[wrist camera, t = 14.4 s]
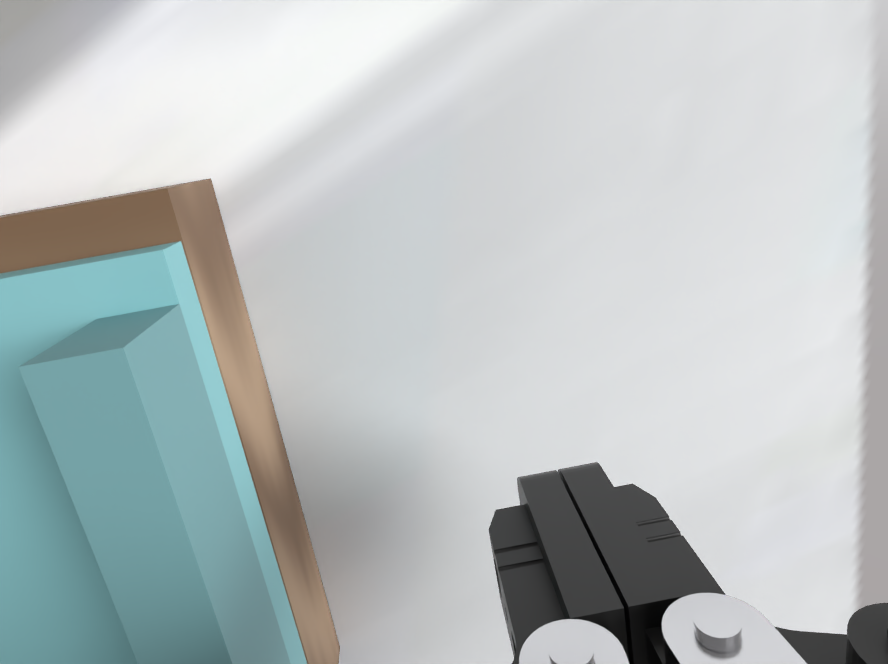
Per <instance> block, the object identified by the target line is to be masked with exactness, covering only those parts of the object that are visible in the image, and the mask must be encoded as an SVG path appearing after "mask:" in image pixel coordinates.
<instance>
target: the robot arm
mask: <svg viewBox="0 0 888 664" xmlns="http://www.w3.org/2000/svg"><path fill="white" fill-rule="evenodd" d="M517 484H518V492H519V498H520V505H519V506H514V507H509V508H504V509H498V510H496V511H495V514H494V517H493V519H492V522H491V525H490V528H489V534H490V540H491V546H492V552H493V557H494V563H495V569H496V575H497V581H498V587H499V593H500V598H501V603H502V607H503V611H504V616H505V620H506V624H507V629H508V633H509V637H510V641H511V646H512V650H513V655H514V661H513V663H512V664H888V603H880V604H873V605H869V606H866V607H864V608H861V609H859V610H858V611H857V612H855V613H854V614H853V615H852V617H851V618H850V620H849V622H848V627H847V635H844V634H830V633H816V632H802V631H793V630H787V629H782V628H778V627H775V626H773V625H772V624H771V623H770V621H769V620H768V619H767V618H766V617H765V616H764V615H763V614H762V613H761V612H760V611H758V610H757V609H756V608H754V607H753V606H751V605H749V604H748V603H746V602H744V601H742V600H739V599H737V598H734V597H731V596H728V595H725V593H724V592H723V591H722V589H721V588H720V586H719V585H718V584H717V582H716V581H715V580H714V578H713V577H712V575H711V574H710V573H709V571H708V570H707V568H706V567H705V566H704V564H703V563H702V562H701V560H700V559H699V557H698V556H697V555H696V553H695V552H694V550H693V549H692V548H691V546H690V545H689V544H688V542H687V541H686V539H685V538H684V537H683V536H681V534H680V531H679V530H678V528H677V527H676V525H675V524H674V523H673V521H672V520H670V519H669V516H668V514H667V513H666V512H665V510H664V509H663V507H662V506H661V505H660V503H659V502H658V501H657V499H656V498H655V497H654V496H652V495H650V494H649V493H647V492H645V491H644V490H642V489H640V488H639V487H637V486H636V485H634V484H629V485H623V486H618V487H613V485H612V483H611V482H610V480H609V479H608V477H607V475H606V474H605V472H604V471H603V469H602V467H601V466H600V465H599V463H597V462H596V463H590V464H585V465H580V466H574V467H569V468H564V469H559V470H558V472H557V471H556V470H554V471H549V472H544V473H538V474H533V475H528V476H522V477H518V478H517Z"/></svg>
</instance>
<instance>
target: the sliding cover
mask: <svg viewBox="0 0 888 664" xmlns="http://www.w3.org/2000/svg"><path fill="white" fill-rule="evenodd" d="M0 664H307V661H306V658H305V655H304V651H303V648H302V645H301V641H300V638H299V635H298V631H297V628H296V625H295V621H294V618H293V615H292V611H291V608H290V605H289V601H288V598H287V594H286V591H285V588H284V584H283V581H282V578H281V574H280V571H279V568H278V564H277V561H276V558H275V554H274V551H273V548H272V544H271V541H270V538H269V534H268V531H267V528H266V524H265V521H264V517H263V514H262V511H261V507H260V504H259V501H258V497H257V494H256V491H255V487H254V484H253V481H252V477H251V474H250V471H249V467H248V464H247V461H246V457H245V454H244V450H243V447H242V444H241V440H240V437H239V434H238V430H237V427H236V424H235V420H234V417H233V414H232V410H231V407H230V404H229V400H228V397H227V394H226V390H225V387H224V384H223V380H222V377H221V373H220V370H219V367H218V363H217V360H216V357H215V353H214V350H213V347H212V343H211V340H210V337H209V333H208V330H207V327H206V323H205V320H204V317H203V313H202V310H201V306H200V303H199V300H198V296H197V293H196V290H195V286H194V283H193V280H192V276H191V273H190V270H189V266H188V263H187V260H186V256H185V253H184V250H183V246H182V243H181V241H179V242H173V243H168V244H162V245H156V246H151V247H145V248H140V249H134V250H128V251H123V252H117V253H112V254H106V255H101V256H95V257H89V258H84V259H78V260H73V261H67V262H61V263H56V264H50V265H45V266H39V267H33V268H28V269H22V270H17V271H11V272H6V273H0Z"/></svg>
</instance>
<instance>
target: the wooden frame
mask: <svg viewBox="0 0 888 664" xmlns="http://www.w3.org/2000/svg"><path fill="white" fill-rule="evenodd" d="M179 241H181V243H182V246H183V250H184V253H185V256H186V260H187V263H188V266H189V270H190V273H191V276H192V280H193V283H194V286H195V290H196V293H197V296H198V300H199V303H200V306H201V310H202V313H203V317H204V320H205V323H206V327H207V330H208V333H209V337H210V340H211V343H212V347H213V350H214V353H215V357H216V360H217V363H218V367H219V370H220V373H221V377H222V380H223V384H224V387H225V390H226V394H227V397H228V400H229V404H230V407H231V410H232V414H233V417H234V420H235V424H236V427H237V430H238V434H239V437H240V440H241V444H242V447H243V450H244V454H245V457H246V461H247V464H248V467H249V471H250V474H251V477H252V481H253V484H254V487H255V491H256V494H257V497H258V501H259V504H260V507H261V511H262V514H263V517H264V521H265V524H266V528H267V531H268V534H269V538H270V541H271V544H272V548H273V551H274V554H275V558H276V561H277V564H278V568H279V571H280V574H281V578H282V581H283V584H284V588H285V591H286V594H287V598H288V601H289V605H290V608H291V611H292V615H293V618H294V621H295V625H296V628H297V631H298V635H299V638H300V641H301V645H302V648H303V651H304V655H305V658H306V661H307V664H338V662H339V652H340V646H339V642H338V639H337V635H336V631H335V628H334V624H333V621H332V617H331V613H330V610H329V606H328V602H327V599H326V595H325V591H324V588H323V584H322V581H321V577H320V573H319V570H318V566H317V562H316V559H315V555H314V552H313V548H312V544H311V541H310V537H309V533H308V530H307V526H306V522H305V519H304V515H303V512H302V508H301V504H300V501H299V497H298V493H297V490H296V486H295V483H294V479H293V475H292V472H291V468H290V464H289V461H288V457H287V453H286V450H285V446H284V443H283V439H282V435H281V432H280V428H279V424H278V421H277V417H276V413H275V410H274V406H273V403H272V399H271V395H270V392H269V388H268V384H267V381H266V377H265V374H264V370H263V366H262V363H261V359H260V355H259V352H258V348H257V344H256V341H255V337H254V334H253V330H252V326H251V323H250V319H249V315H248V312H247V308H246V305H245V301H244V297H243V294H242V290H241V286H240V283H239V279H238V275H237V272H236V268H235V265H234V261H233V257H232V254H231V250H230V246H229V243H228V239H227V235H226V232H225V228H224V225H223V221H222V217H221V214H220V210H219V206H218V203H217V199H216V196H215V192H214V188H213V185H212V181H211V179H206V180H200V181H194V182H189V183H183V184H177V185H172V186H166V187H160V188H155V189H149V190H143V191H138V192H132V193H126V194H121V195H115V196H109V197H104V198H98V199H92V200H87V201H81V202H75V203H70V204H64V205H58V206H53V207H47V208H41V209H36V210H30V211H24V212H19V213H13V214H7V215H2V216H0V273H6V272H11V271H17V270H22V269H28V268H33V267H39V266H45V265H50V264H56V263H61V262H67V261H73V260H78V259H84V258H89V257H95V256H101V255H106V254H112V253H117V252H123V251H128V250H134V249H140V248H145V247H151V246H156V245H162V244H168V243H173V242H179Z"/></svg>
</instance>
